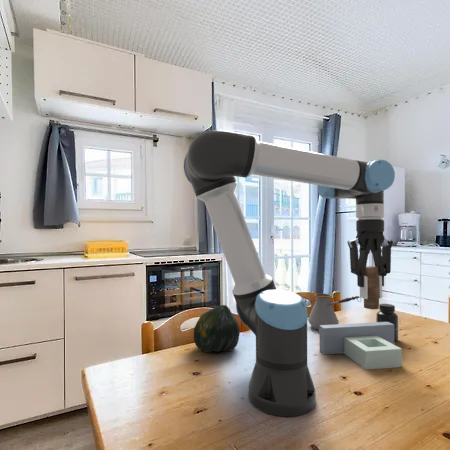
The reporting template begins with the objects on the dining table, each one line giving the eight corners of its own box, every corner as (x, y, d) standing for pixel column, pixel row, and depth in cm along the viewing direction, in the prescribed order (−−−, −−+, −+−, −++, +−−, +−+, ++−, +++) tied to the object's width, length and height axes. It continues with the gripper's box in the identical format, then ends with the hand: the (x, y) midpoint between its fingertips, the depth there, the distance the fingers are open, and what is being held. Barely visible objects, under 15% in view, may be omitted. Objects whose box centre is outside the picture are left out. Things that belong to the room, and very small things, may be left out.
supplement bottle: (401, 343, 103) (401, 307, 103) (379, 342, 104) (379, 306, 104) (394, 336, 110) (394, 303, 110) (374, 335, 111) (373, 302, 111)
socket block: (365, 369, 84) (365, 351, 84) (344, 353, 95) (344, 337, 95) (402, 366, 85) (401, 348, 85) (376, 351, 96) (376, 335, 96)
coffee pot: (301, 326, 121) (301, 289, 121) (320, 321, 128) (319, 285, 128) (351, 342, 104) (351, 298, 104) (369, 335, 110) (369, 294, 111)
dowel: (369, 309, 88) (368, 267, 88) (361, 306, 92) (360, 266, 92) (381, 309, 89) (381, 267, 89) (373, 305, 92) (372, 266, 93)
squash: (181, 329, 102) (199, 300, 95) (215, 322, 111) (235, 295, 104) (198, 369, 93) (221, 340, 86) (234, 357, 103) (257, 331, 96)
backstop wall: (324, 354, 94) (323, 328, 94) (319, 350, 97) (319, 325, 97) (394, 349, 98) (394, 324, 98) (388, 346, 101) (387, 321, 101)
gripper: (350, 218, 86) (351, 301, 85) (404, 218, 88) (406, 299, 88) (336, 219, 93) (337, 296, 93) (387, 219, 96) (388, 294, 95)
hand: (370, 297), depth 90 cm, fingers closed on dowel, 4 cm apart
